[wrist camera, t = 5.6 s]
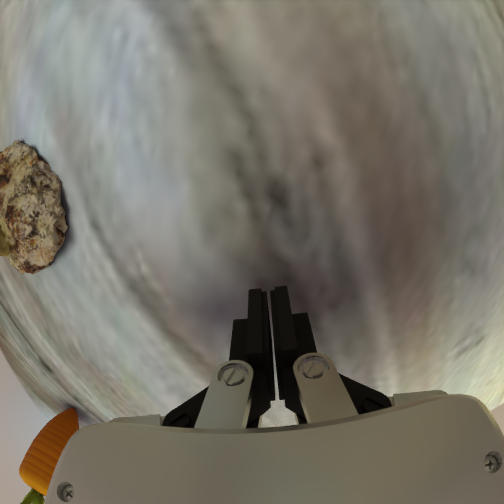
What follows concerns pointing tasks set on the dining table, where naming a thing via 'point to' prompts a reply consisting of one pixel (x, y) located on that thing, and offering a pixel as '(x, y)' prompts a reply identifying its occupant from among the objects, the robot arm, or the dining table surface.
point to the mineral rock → (29, 209)
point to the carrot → (46, 454)
